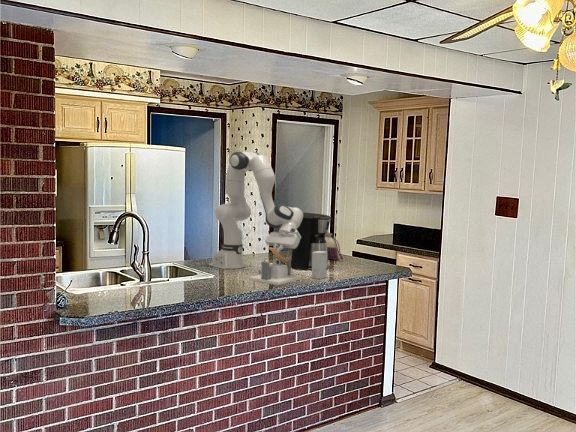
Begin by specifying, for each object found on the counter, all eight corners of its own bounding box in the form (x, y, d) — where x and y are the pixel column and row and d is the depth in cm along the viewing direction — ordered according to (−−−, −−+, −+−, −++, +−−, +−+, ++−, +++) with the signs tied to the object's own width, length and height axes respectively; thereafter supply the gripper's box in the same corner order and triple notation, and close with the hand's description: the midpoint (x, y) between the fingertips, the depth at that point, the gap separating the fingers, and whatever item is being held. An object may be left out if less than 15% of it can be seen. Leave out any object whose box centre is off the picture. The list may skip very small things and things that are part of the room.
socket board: (248, 279, 296) (249, 260, 295) (273, 274, 314) (273, 255, 313) (278, 285, 285) (278, 264, 284) (301, 278, 302) (302, 259, 302)
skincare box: (320, 279, 303) (321, 252, 301) (310, 278, 306) (311, 251, 304) (327, 277, 310) (327, 251, 309) (317, 275, 313) (318, 250, 312)
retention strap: (283, 263, 307) (284, 262, 307) (288, 263, 305) (288, 262, 306) (268, 248, 294) (268, 247, 295) (272, 248, 293) (273, 247, 293)
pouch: (309, 258, 374) (309, 230, 372) (315, 256, 381) (315, 229, 379) (341, 262, 361) (342, 233, 359) (347, 260, 367) (348, 232, 366)
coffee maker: (332, 271, 328) (334, 215, 325) (279, 271, 324) (280, 214, 321) (324, 264, 350) (326, 212, 347) (275, 264, 346) (276, 211, 343)
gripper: (269, 227, 309) (258, 246, 302) (299, 230, 297) (288, 250, 290) (274, 234, 313) (263, 253, 306) (303, 237, 301) (293, 257, 294)
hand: (275, 251), depth 298 cm, fingers closed, pressing on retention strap
